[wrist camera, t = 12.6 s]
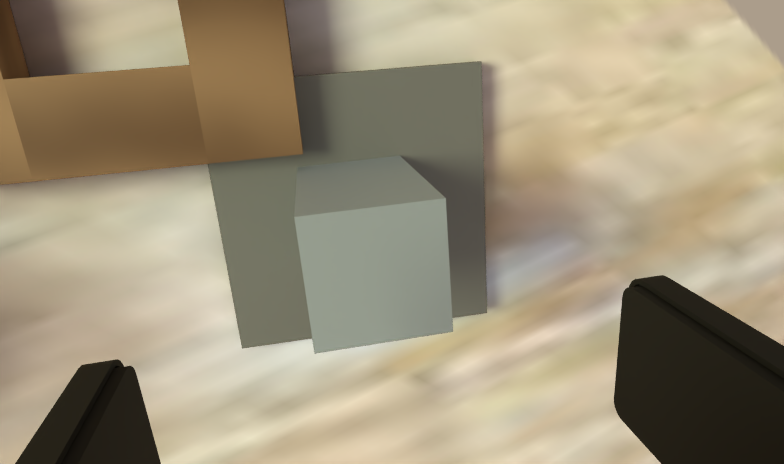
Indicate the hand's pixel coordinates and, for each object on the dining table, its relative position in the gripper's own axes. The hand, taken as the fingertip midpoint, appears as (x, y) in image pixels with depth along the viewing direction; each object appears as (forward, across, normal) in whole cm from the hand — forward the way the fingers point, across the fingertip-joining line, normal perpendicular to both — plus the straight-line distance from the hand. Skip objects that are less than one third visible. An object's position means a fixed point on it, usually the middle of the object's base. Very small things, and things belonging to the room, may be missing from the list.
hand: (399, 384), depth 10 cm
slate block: (+14, -1, +1) cm, 14 cm away
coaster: (+15, -1, +1) cm, 15 cm away
